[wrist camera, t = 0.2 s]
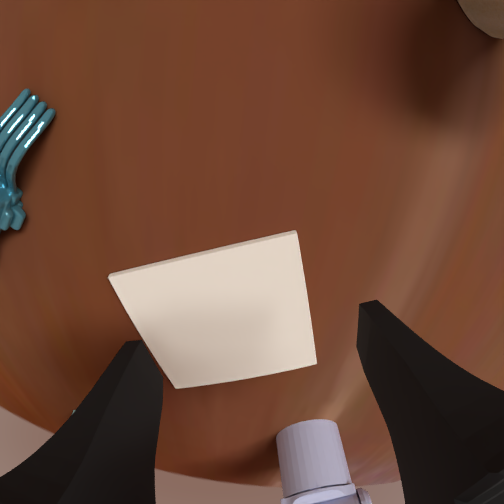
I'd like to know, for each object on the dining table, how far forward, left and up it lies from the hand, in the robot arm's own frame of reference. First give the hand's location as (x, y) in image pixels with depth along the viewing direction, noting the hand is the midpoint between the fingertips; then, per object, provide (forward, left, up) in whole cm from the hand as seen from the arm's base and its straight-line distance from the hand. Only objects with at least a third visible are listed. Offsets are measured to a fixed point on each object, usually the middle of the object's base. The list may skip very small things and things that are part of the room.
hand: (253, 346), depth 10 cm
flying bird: (+7, +15, -10) cm, 20 cm away
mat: (-7, +3, -9) cm, 12 cm away
